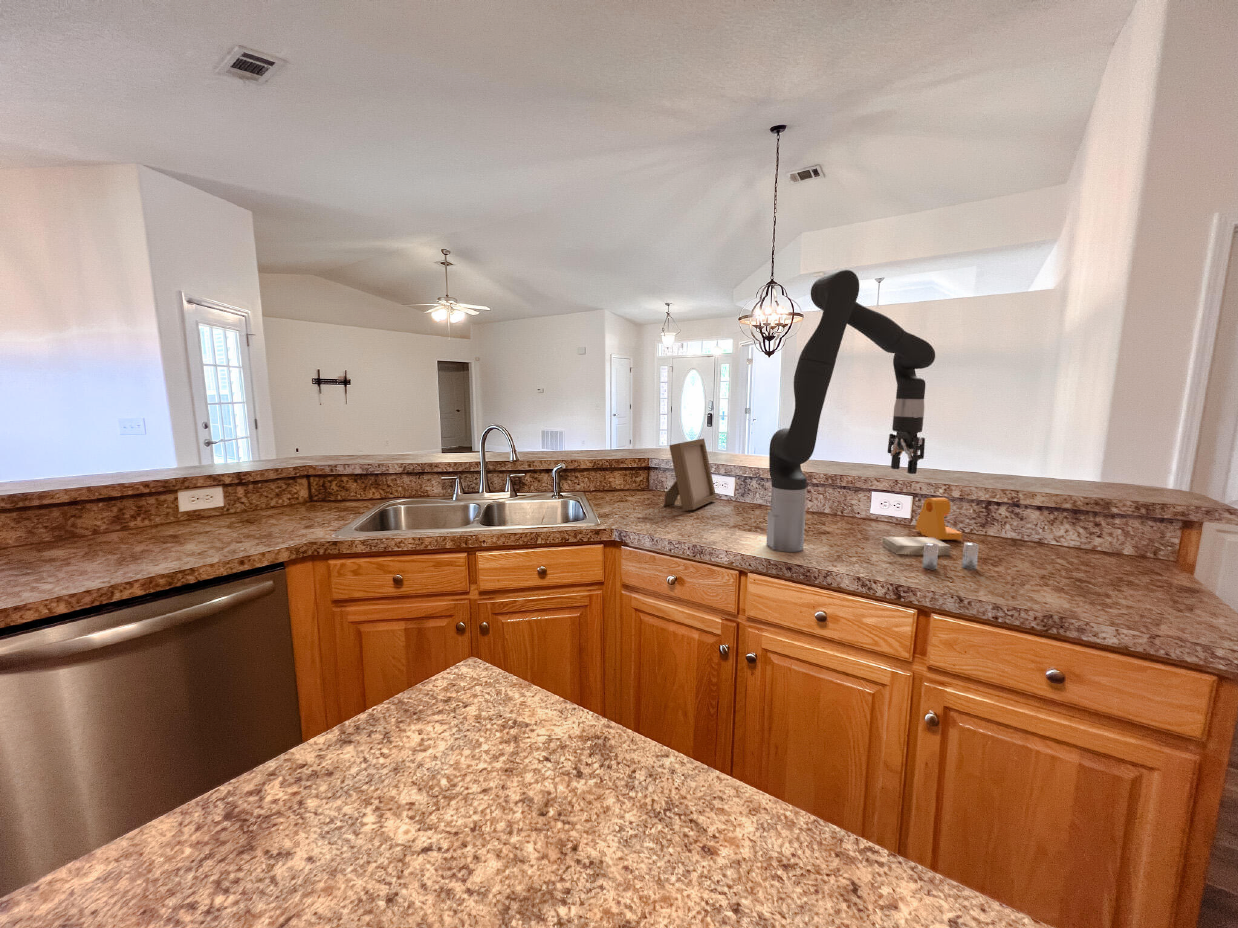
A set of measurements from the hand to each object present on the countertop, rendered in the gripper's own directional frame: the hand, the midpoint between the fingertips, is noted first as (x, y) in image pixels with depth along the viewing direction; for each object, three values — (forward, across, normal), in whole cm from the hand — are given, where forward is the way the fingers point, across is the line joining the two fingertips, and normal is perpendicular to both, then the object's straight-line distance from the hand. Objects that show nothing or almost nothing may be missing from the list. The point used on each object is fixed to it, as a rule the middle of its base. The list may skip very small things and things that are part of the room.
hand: (903, 471), depth 146 cm
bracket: (+21, -3, +14) cm, 26 cm away
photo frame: (+21, -47, -55) cm, 76 cm away
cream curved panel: (+21, +10, 0) cm, 23 cm away
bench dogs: (+21, +24, 0) cm, 31 cm away
